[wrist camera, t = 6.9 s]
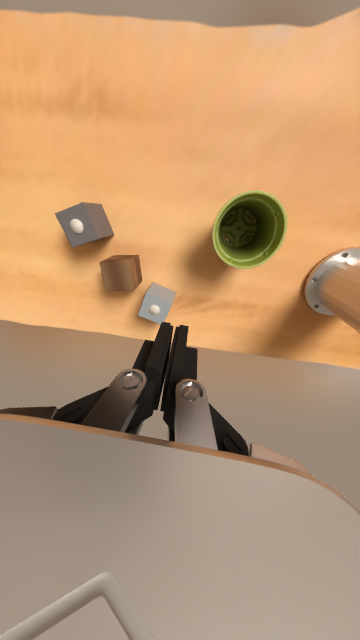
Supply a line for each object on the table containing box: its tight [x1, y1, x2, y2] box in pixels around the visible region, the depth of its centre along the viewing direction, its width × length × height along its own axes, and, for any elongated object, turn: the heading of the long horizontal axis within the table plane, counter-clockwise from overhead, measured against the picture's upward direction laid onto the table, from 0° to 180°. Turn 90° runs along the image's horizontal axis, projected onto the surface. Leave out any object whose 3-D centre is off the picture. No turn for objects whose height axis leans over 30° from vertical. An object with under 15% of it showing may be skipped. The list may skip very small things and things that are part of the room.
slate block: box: [138, 282, 176, 325], centre depth 37 cm, size 5×5×6 cm
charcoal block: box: [55, 202, 114, 247], centre depth 32 cm, size 5×5×6 cm
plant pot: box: [212, 190, 287, 269], centre depth 29 cm, size 9×9×9 cm
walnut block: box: [99, 255, 142, 291], centre depth 35 cm, size 5×5×6 cm
